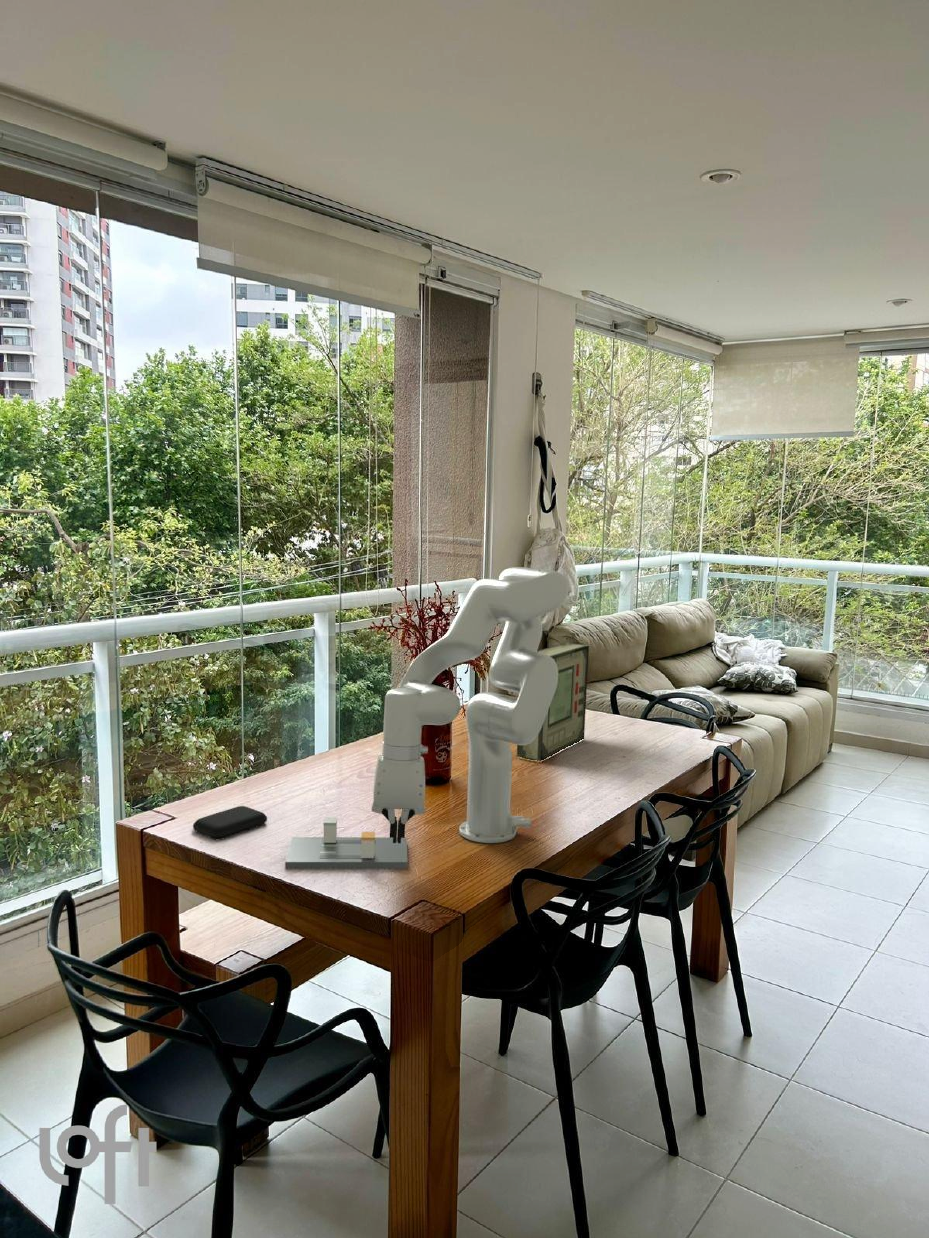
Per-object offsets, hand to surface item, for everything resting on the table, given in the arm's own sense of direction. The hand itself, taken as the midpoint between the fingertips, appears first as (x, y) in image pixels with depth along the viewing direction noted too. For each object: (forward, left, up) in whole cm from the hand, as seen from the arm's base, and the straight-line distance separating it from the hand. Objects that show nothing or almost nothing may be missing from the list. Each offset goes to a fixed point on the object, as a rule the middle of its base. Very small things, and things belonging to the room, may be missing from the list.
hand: (396, 840), depth 181 cm
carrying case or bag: (+37, -21, -6) cm, 43 cm away
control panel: (-46, -86, -5) cm, 97 cm away
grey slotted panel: (+10, -5, -5) cm, 12 cm away
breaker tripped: (+6, -1, -3) cm, 7 cm away
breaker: (+14, -9, -3) cm, 17 cm away
